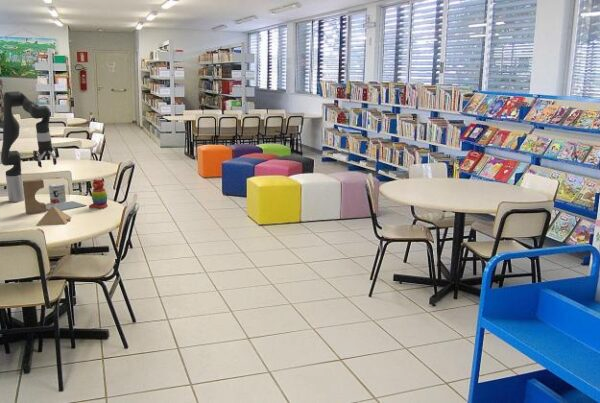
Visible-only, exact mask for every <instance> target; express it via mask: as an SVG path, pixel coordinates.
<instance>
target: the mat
mask: <svg viewBox="0 0 600 403" xmlns="http://www.w3.org/2000/svg"><path fill="white" fill-rule="evenodd" d="M52 206H54V207H56V208H57V209H59V210H61V211H62V212H64V211H68V210H72V209H78V208H82V207H87V204H83V203H80V202H77V201H73V200H72V201H71V200H70V201H66V202H61V203H55V204H50V205H46V211H48V210H49V209H50V208H51V207H52Z"/></svg>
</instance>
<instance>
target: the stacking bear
mask: <svg viewBox="0 0 600 403" xmlns="http://www.w3.org/2000/svg"><path fill="white" fill-rule="evenodd" d="M104 185H105V182H104V181H103V179H96V178H95V179H93V181H92V185H91V186H92V188H93V189H92V192H91V201H92V203H91V204H89V206H88V207H89V209H97V210H103V209H106V208H107V207H108V193H107V191H106V189H105V188H104Z"/></svg>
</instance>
